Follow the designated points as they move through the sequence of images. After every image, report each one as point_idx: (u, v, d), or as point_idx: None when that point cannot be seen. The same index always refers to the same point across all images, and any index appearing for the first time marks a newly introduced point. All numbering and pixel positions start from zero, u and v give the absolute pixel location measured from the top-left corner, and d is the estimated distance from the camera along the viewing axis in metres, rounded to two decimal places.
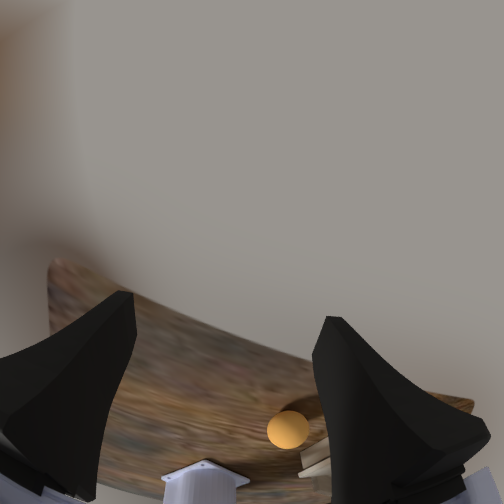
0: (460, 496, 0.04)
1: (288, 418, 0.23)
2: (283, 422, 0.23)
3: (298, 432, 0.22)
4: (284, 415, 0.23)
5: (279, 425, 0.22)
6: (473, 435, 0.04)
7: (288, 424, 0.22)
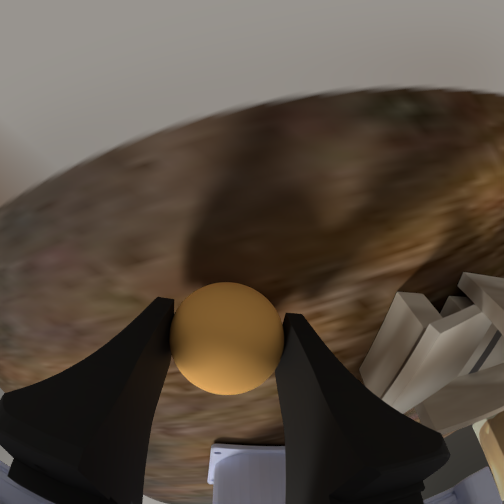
0: (460, 496, 0.04)
1: (182, 308, 0.09)
2: (173, 324, 0.09)
3: (212, 337, 0.08)
4: None
5: (170, 336, 0.09)
6: (423, 454, 0.03)
7: (180, 324, 0.09)
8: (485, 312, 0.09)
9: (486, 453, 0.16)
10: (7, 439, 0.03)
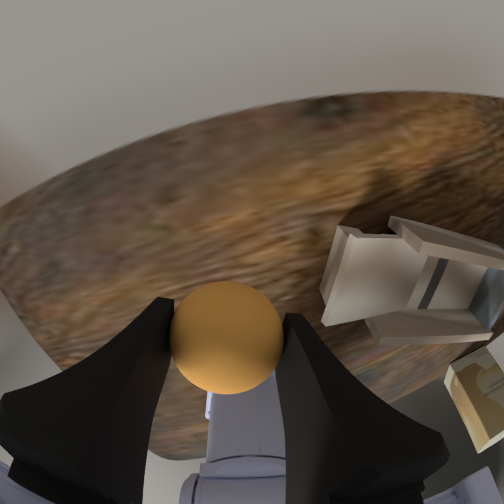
0: (460, 496, 0.04)
1: (181, 307, 0.09)
2: (173, 323, 0.09)
3: (211, 336, 0.08)
4: (179, 304, 0.10)
5: (170, 335, 0.09)
6: (423, 454, 0.03)
7: (179, 323, 0.09)
8: (404, 238, 0.16)
9: (458, 406, 0.24)
10: (7, 439, 0.03)
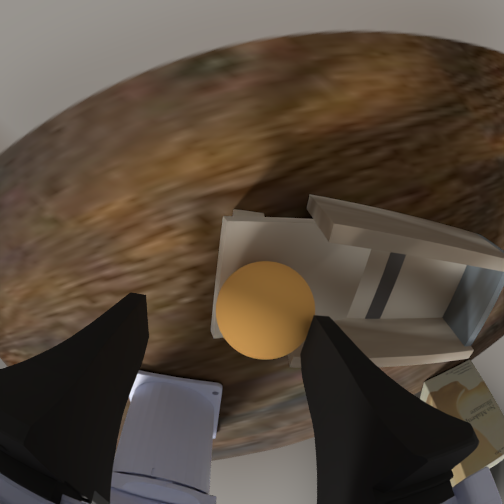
0: (460, 496, 0.04)
1: (244, 300, 0.10)
2: (245, 317, 0.10)
3: (293, 305, 0.10)
4: (231, 300, 0.10)
5: (245, 330, 0.10)
6: (459, 441, 0.04)
7: (258, 312, 0.10)
8: (317, 222, 0.13)
9: None
10: None
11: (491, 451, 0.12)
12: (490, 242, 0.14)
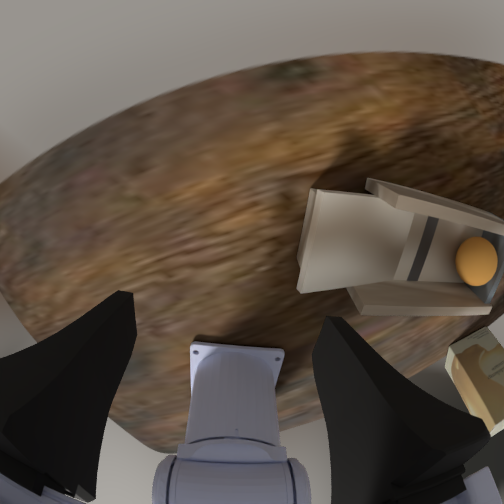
0: (460, 496, 0.04)
1: (492, 256, 0.16)
2: (493, 263, 0.16)
3: (495, 252, 0.17)
4: (488, 258, 0.16)
5: (493, 269, 0.16)
6: (473, 435, 0.04)
7: (495, 259, 0.16)
8: (380, 197, 0.16)
9: (460, 391, 0.23)
10: None
11: None
12: None
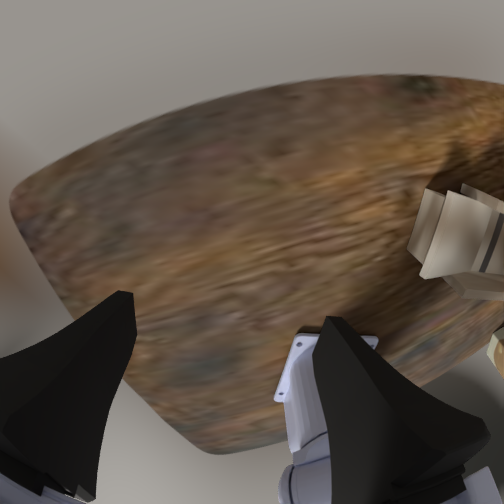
0: (460, 496, 0.04)
1: None
2: None
3: None
4: None
5: None
6: (473, 435, 0.04)
7: None
8: (479, 200, 0.16)
9: (502, 373, 0.23)
10: None
11: None
12: None
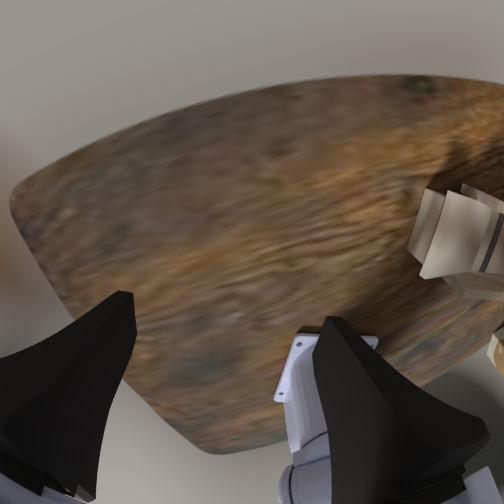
0: (460, 496, 0.04)
1: None
2: None
3: None
4: None
5: None
6: (473, 435, 0.04)
7: None
8: (479, 200, 0.16)
9: (502, 373, 0.23)
10: None
11: None
12: None
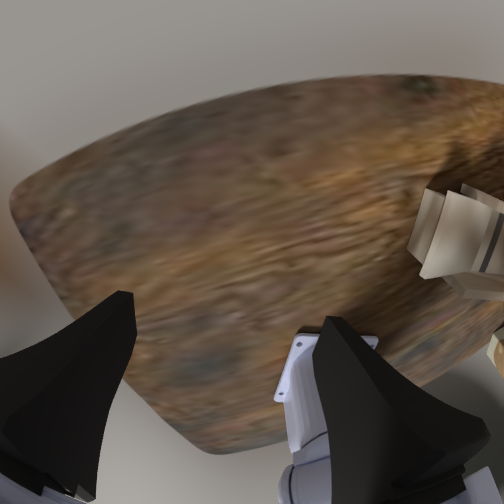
0: (460, 496, 0.04)
1: None
2: None
3: None
4: None
5: None
6: (473, 435, 0.04)
7: None
8: (479, 200, 0.16)
9: (502, 373, 0.23)
10: None
11: None
12: None
